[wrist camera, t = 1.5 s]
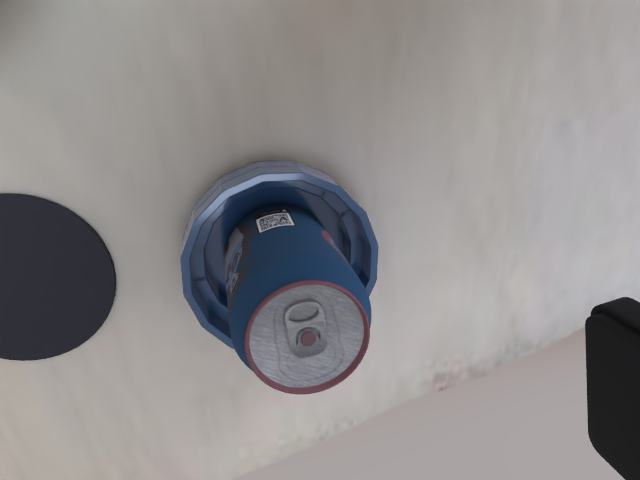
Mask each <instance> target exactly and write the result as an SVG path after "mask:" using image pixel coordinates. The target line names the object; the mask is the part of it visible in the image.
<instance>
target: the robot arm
mask: <svg viewBox="0 0 640 480" xmlns="http://www.w3.org/2000/svg"><path fill="white" fill-rule="evenodd" d="M585 330H586V331H585V333H586V369H587V404H588V405H587V406H588V434H589V438H590V441H591V443H592V445H593V447H594V448H595V449H596V451H597V452H598V453H599V454H600V455H601V456H602V457H603V458H604V459H605V460H606V461H607V462H608V463H609V464H610V465H611V466H612V467H613V468H614V469H615V470H616V471H617V472H618V473H619V474H620V475H621V476H622V477H623V478H624V479H625V480H640V303H639V302H637V301H635V300H634V299H631V298H628V297H622V298H619V299H616V300H613V301H610V302H607V303H603V304H600V305H597V306H595V307H594V308H593V309H592V311H591V316H590V317H588V318H587V320H586V324H585Z"/></svg>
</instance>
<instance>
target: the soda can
mask: <svg viewBox="0 0 640 480" xmlns="http://www.w3.org/2000/svg"><path fill="white" fill-rule="evenodd" d="M224 270H225V281H226V292H227V303H228V314H229V324H230V334H231V339H232V343H233V346H234V348H235V350H236V352H237V354H238V356H239V357H240V359H241V360H242V361H243V362H244V363H245V365H246V366H248V367H249V368H250V369H251V370H252V371H253V372H254V373H255V374H256V375H257V376H258V377H259V378H260V379H261V380H262V381H263V382H264V383H266V384H267V385H269V386H270V387H272V388H274V389H276V390H279V391H282V392H285V393H290V394H311V393H317V392H320V391H324V390H326V389H329V388H331V387H333V386H335V385H337V384H338V383H340V382H342V381H343V380H344V379H346V378H347V377H348V376H349V375H350V374H351V373H352V372H353V371H354V370H355V369H356V368H357V366H358V365H359V364H360V362H361V361H362V359H363V357H364V355H365V353H366V350H367V348H368V344H369V337H370V324H371V305H370V300H369V296H368V294H367V291H366V289H365V287H364V285H363V284H362V282H361V281H360V279H359V278H358V276H357V275H356V273H355V272H354V270H353V269H352V267H351V266H350V264H349V263H348V261H347V260H346V258H345V257H344V256H343V254H342V253H341V251H340V250H339V248H338V247H337V245H336V244H335V242H334V241H333V239H332V238H331V236H330V235H329V233H328V232H327V230H326V229H325V227H324V226H323V225H322V223H321V222H320V221H319V220H318V219H317V218H316V217H315V216H314V215H312V214H311V213H309V212H308V211H306V210H304V209H302V208H299V207H296V206H292V205H286V204H275V205H268V206H264V207H261V208H258V209H256V210H254V211H252V212H250V213H249V214H247V215H246V216H244V217H243V218H242V219H241V220H240V221H239V222H238V223H237V224H236V225H235V227H234V228H233V229H232V231H231V232H230V234H229V236H228V239H227V241H226V244H225V248H224Z"/></svg>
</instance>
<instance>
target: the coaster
mask: <svg viewBox="0 0 640 480" xmlns="http://www.w3.org/2000/svg"><path fill="white" fill-rule="evenodd" d="M115 290H116V274H115V269H114V264H113V261H112V259H111V256H110V253H109V251H108V249H107V247H106V246H105V244H104V242H103V241H102V239H101V238H100V237H99V235H98V234H97V233H96V232H95V231H94V229H93V228H92V227H91V226H90V225H89V224H88V223H86V222H85V221H84V220H83V219H82V218H81V217H79V216H78V215H76V214H75V213H73V212H72V211H70V210H69V209H67V208H65V207H63V206H61V205H59V204H57V203H54V202H51V201H48V200H46V199H42V198H38V197H34V196H29V195H22V194H0V358H3V359H9V360H22V361H25V360H39V359H46V358H50V357H54V356H58V355H61V354H63V353H66V352H68V351H70V350H72V349H74V348H76V347H78V346H80V345H81V344H83V343H84V342H85V341H87V340H88V339H89V338H90V337H91V336H93V335H94V334H95V333H96V332H97V330H98V329H99V328H100V327H101V326H102V324H103V323H104V321H105V320H106V318H107V316H108V314H109V312H110V309H111V307H112V304H113V301H114V297H115Z"/></svg>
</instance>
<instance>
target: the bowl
mask: <svg viewBox="0 0 640 480" xmlns="http://www.w3.org/2000/svg"><path fill="white" fill-rule="evenodd" d="M275 204H286V205H292V206H296V207H299V208H302V209H304V210H306V211H308V212H309V213H311V214H312V215H314V216H315V217H316V218H317V219H318V220H319V221H320V222H321V223H322V225H323V226H324V227H325V229H326V230H327V232H328V233H329V235H330V236H331V238H332V239H333V241H334V242H335V244H336V245H337V247H338V248H339V250H340V251H341V253H342V254H343V256H344V257H345V258H346V260H347V261H348V263H349V264H350V266H351V267H352V269H353V270H354V272H355V273H356V275H357V276H358V278H359V279H360V281H361V282H362V284H363V285H364V287H365V289H366V291H367V294H368V296H370V294H371V292H372V289H373V287H374V285H375V283H376V280H377V264H378V243H377V240H376V238H375V235H374V232H373V230H372V227H371V225H370V222H369V219H368V217H367V214H366V212H365V211H364V210H363V209H362V208H361V207H360V206H359V205H358V204H357V203H356V202H355V201H354V200H353V199H352V198H351V197H350V196H349V195H348V194H347V193H346V192H345V191H344V190H343V189H342V188H341V187H340V186H339V185H338V184H337V183H336V182H335V181H334V180H333V179H332V178H331V177H330V176H329V175H328V174H326V173H324V172H321V171H319V170H316V169H314V168H311V167H308V166H306V165H303V164H301V163H298V162H295V161H260V162H254V163H251V164H249V165H247V166H245V167H242V168H240V169H238V170H236V171H233V172H231V173H229V174H227V175H224V176H222V177H221V178H220V179H219V180H218V181H217V182H216V183H215V184H214V185H213V186H212V187H211V188H210V189H209V190H208V191H207V192H206V193H205V194H204V195H203V197H202V198H201V199H200V200H199V201H198V202H197V203H196V205H195V206H194V209H193V212H192V214H191V217H190V220H189V223H188V225H187V228H186V231H185V234H184V237H183V244H182V251H181V270H182V281H183V293H184V297H185V298H186V300H187V302H188V303H189V305H190V307H191V309H192V310H193V312H194V314H195V316H196V317H197V319H198V321H199V323H200V324H201V326H202V327H203V328H204V329H206V330H207V331H209V332H210V333H211V334H213V335H214V336H215V337H217V338H218V339H219V340H221V341H222V342H224V343H225V344H226V345H228V346H229V347H230V348H233V349H235V348H234V346H233V343H232V339H231V334H230V324H229V314H228V303H227V292H226V281H225V270H224V248H225V244H226V241H227V239H228V236H229V234H230V232H231V231H232V229H233V228H234V227H235V225H236V224H237V223H238V222H239V221H240V220H241V219H242V218H243V217H244V216H246V215H247V214H249V213H250V212H252V211H254V210H256V209H258V208H261V207H264V206H268V205H275Z"/></svg>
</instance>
